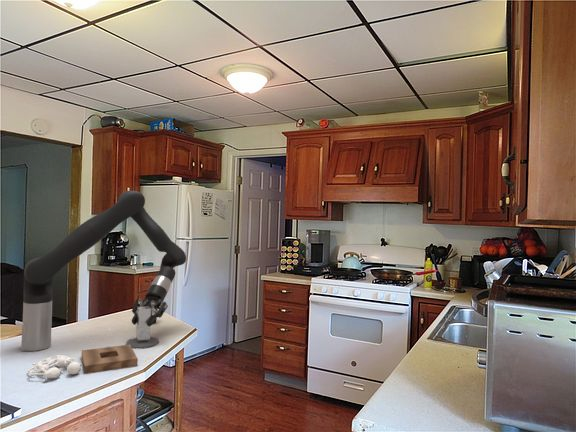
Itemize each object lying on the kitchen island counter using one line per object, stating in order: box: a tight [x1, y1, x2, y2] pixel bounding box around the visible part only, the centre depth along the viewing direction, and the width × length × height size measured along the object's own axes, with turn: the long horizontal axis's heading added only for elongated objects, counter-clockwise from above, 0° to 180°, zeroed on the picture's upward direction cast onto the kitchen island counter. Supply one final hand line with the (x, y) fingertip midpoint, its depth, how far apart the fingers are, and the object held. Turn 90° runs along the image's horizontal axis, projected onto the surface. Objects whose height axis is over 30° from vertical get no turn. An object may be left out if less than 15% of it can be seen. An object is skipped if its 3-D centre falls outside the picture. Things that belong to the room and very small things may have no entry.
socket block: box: [80, 344, 139, 374], centre depth 139 cm, size 16×16×2 cm
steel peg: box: [135, 306, 151, 340], centre depth 159 cm, size 4×4×12 cm
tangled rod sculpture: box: [27, 354, 83, 380], centre depth 130 cm, size 19×14×4 cm
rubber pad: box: [126, 336, 160, 349], centre depth 159 cm, size 12×12×1 cm
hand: (140, 324), depth 157 cm, fingers closed on steel peg, 6 cm apart
